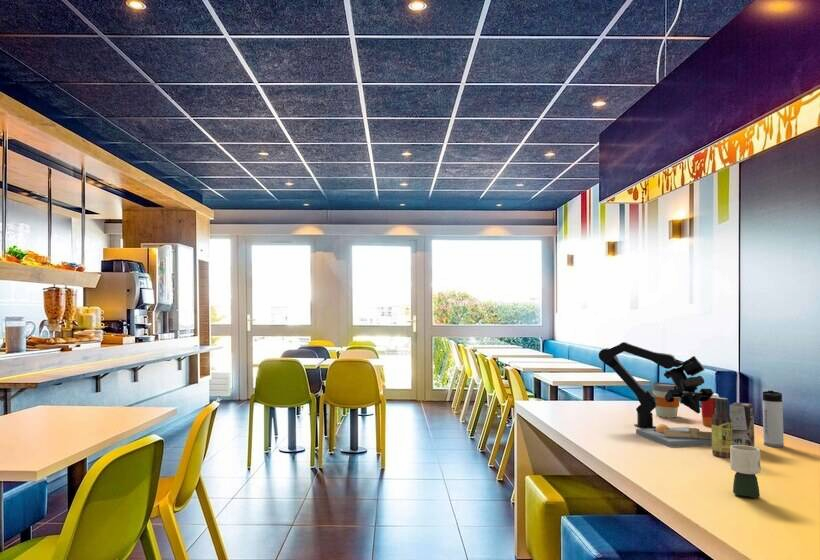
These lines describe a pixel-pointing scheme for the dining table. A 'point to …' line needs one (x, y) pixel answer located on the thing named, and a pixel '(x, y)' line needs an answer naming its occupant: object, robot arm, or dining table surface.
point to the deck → (673, 438)
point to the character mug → (745, 469)
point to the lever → (688, 433)
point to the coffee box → (742, 424)
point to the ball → (662, 428)
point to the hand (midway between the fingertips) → (698, 412)
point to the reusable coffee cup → (663, 406)
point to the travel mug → (773, 419)
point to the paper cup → (708, 410)
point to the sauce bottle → (721, 429)
